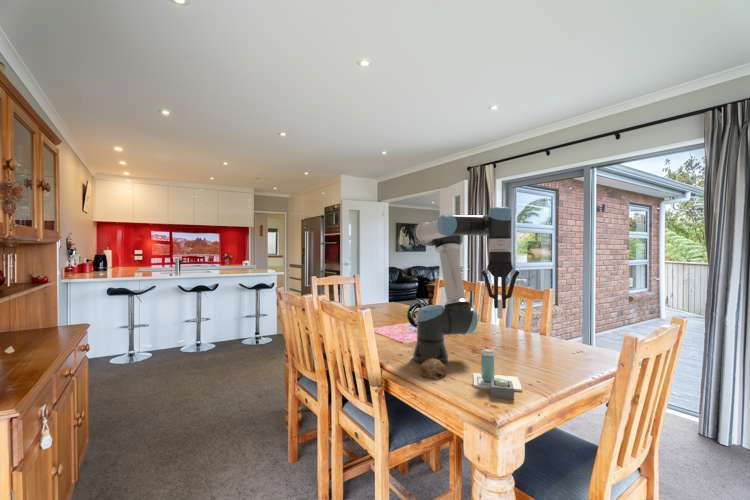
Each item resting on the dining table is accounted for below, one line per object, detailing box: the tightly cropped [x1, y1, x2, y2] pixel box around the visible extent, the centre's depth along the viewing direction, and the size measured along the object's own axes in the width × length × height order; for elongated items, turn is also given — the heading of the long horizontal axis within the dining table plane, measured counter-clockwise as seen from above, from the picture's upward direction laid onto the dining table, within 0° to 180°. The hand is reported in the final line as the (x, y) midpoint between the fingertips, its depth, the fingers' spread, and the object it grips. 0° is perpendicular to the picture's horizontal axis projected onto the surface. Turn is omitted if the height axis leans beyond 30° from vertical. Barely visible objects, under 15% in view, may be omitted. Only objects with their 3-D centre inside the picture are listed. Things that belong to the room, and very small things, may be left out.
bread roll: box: [419, 358, 447, 380], centre depth 137 cm, size 10×10×8 cm
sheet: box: [472, 372, 523, 393], centre depth 128 cm, size 16×12×1 cm
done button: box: [495, 379, 508, 387], centre depth 118 cm, size 4×4×4 cm
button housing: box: [489, 379, 515, 401], centre depth 118 cm, size 7×7×4 cm
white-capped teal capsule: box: [480, 349, 495, 383], centre depth 127 cm, size 4×4×11 cm
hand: (499, 317), depth 124 cm, fingers closed
